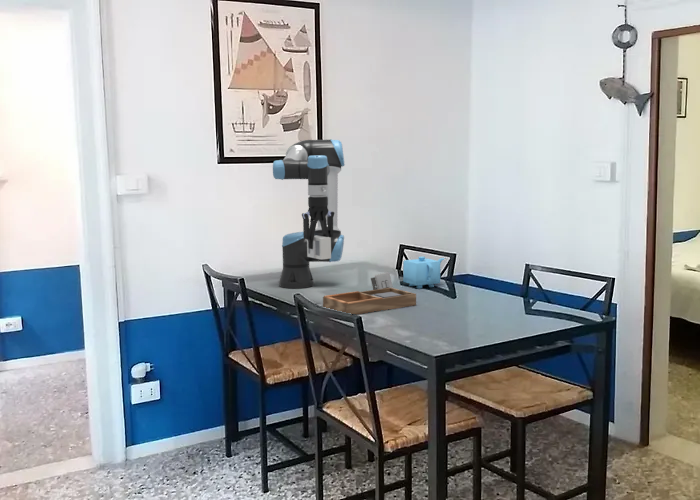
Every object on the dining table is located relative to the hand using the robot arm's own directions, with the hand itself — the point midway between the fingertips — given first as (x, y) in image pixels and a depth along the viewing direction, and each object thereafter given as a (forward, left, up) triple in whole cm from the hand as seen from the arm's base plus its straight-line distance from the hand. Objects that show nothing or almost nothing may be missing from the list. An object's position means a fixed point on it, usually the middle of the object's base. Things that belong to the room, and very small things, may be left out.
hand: (318, 256), depth 294 cm
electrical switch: (+2, +29, -19) cm, 35 cm away
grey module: (+18, +20, -19) cm, 33 cm away
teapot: (-4, +58, -19) cm, 61 cm away
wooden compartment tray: (+17, +12, -18) cm, 28 cm away
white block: (0, 0, -1) cm, 0 cm away
